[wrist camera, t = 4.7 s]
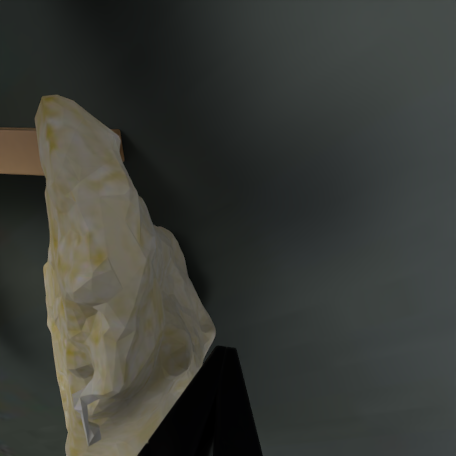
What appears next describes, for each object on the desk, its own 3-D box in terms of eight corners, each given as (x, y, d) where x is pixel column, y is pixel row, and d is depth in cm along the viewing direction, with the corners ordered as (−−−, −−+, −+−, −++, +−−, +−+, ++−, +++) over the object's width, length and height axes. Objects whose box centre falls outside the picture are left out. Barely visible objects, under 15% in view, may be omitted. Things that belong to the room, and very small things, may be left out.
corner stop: (152, 343, 17) (122, 403, 13) (-23, 321, 19) (-92, 368, 15) (120, 129, 12) (53, 130, 8) (-123, 125, 13) (-270, 125, 10)
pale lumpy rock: (167, 369, 21) (335, 553, 9) (65, 420, 16) (119, 937, 4) (143, 190, 20) (292, 122, 8) (29, 194, 15) (-32, 51, 3)
